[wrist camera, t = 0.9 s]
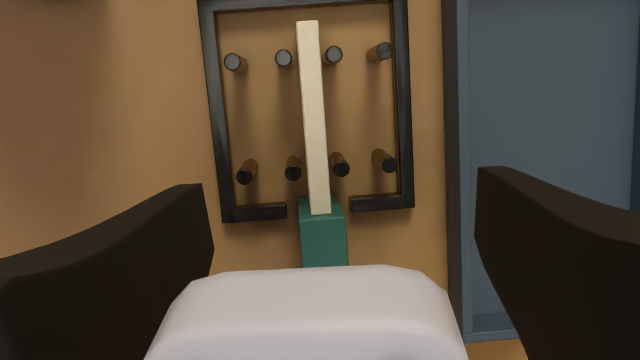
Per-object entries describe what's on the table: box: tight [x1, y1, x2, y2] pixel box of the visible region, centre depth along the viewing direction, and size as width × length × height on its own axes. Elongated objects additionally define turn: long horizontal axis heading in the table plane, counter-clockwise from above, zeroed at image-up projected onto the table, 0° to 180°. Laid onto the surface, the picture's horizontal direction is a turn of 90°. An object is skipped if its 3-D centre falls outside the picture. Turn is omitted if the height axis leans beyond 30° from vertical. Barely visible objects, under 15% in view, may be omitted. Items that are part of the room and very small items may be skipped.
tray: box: [442, 0, 640, 343], centre depth 27 cm, size 21×11×2 cm, turn 4°
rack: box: [197, 0, 415, 224], centre depth 25 cm, size 12×11×4 cm
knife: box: [296, 20, 348, 268], centre depth 25 cm, size 15×2×5 cm, turn 4°
